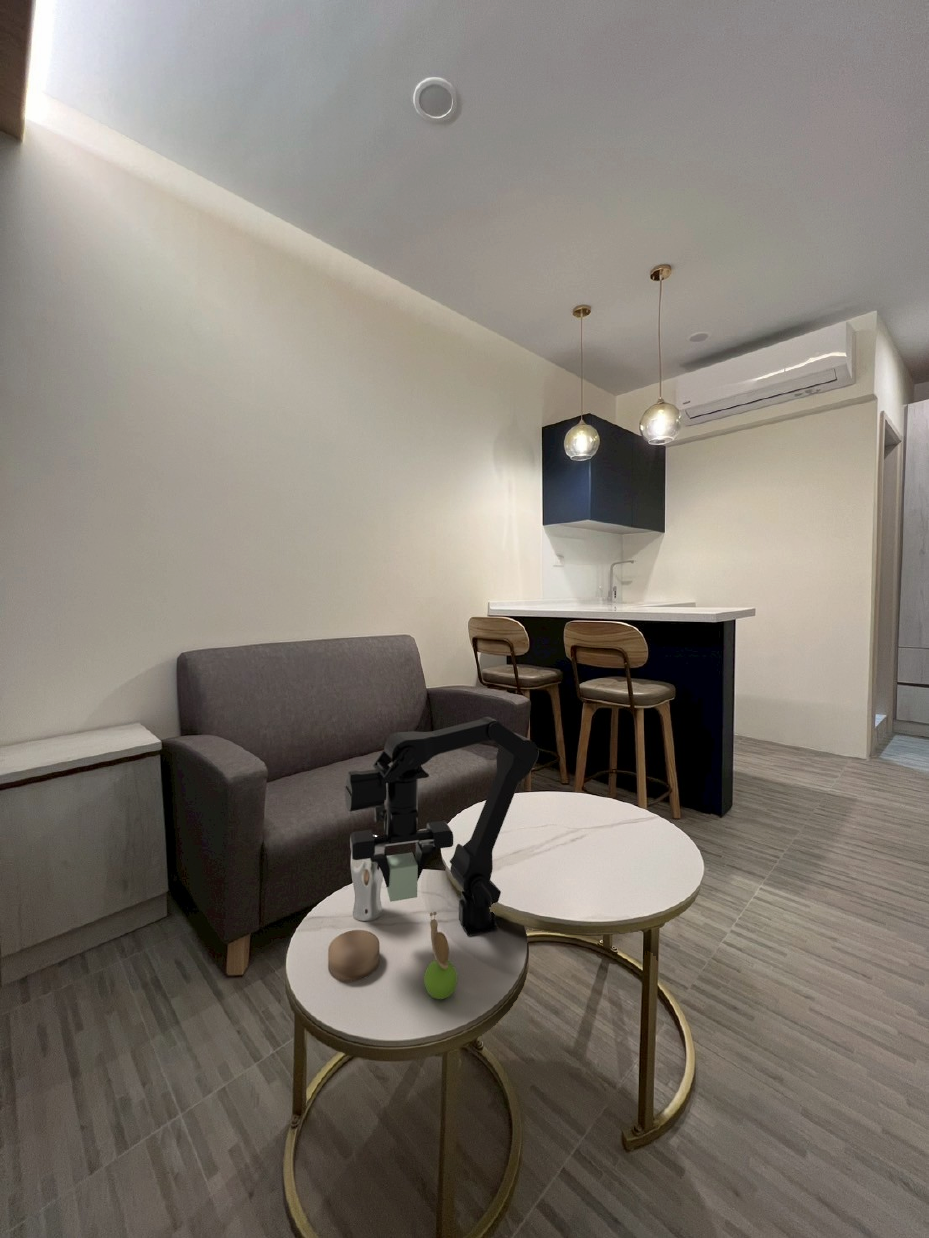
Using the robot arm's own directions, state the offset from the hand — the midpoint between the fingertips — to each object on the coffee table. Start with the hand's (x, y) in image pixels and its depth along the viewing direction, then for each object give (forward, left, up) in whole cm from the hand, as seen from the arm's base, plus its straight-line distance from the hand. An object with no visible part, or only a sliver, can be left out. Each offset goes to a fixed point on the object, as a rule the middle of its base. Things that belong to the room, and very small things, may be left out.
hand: (401, 883), depth 94 cm
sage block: (0, 0, -2) cm, 2 cm away
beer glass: (+5, -12, -12) cm, 18 cm away
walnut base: (+9, +2, -12) cm, 15 cm away
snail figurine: (-4, +13, -12) cm, 18 cm away
